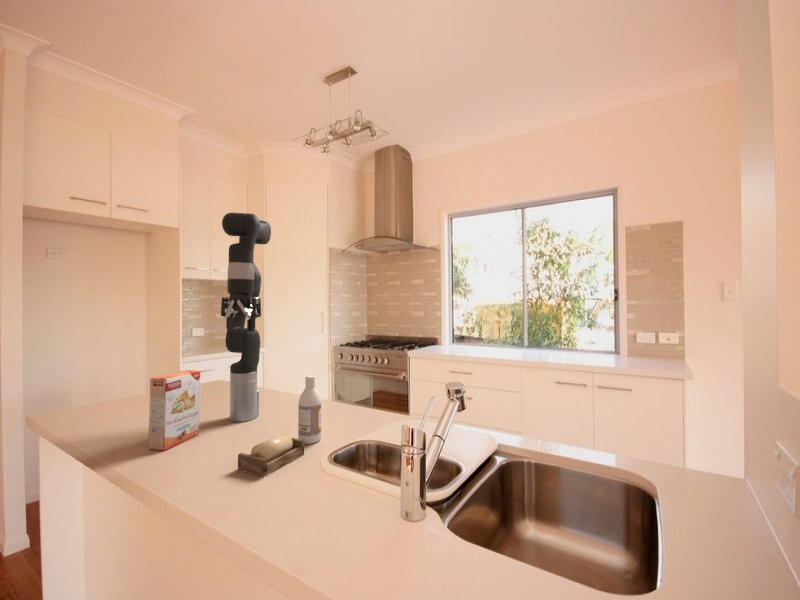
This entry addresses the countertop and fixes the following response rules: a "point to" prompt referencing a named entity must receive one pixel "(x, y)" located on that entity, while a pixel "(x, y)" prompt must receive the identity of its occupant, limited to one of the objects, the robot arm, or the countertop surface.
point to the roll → (273, 447)
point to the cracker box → (173, 409)
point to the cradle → (264, 468)
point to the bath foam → (309, 413)
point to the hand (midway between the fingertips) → (240, 331)
